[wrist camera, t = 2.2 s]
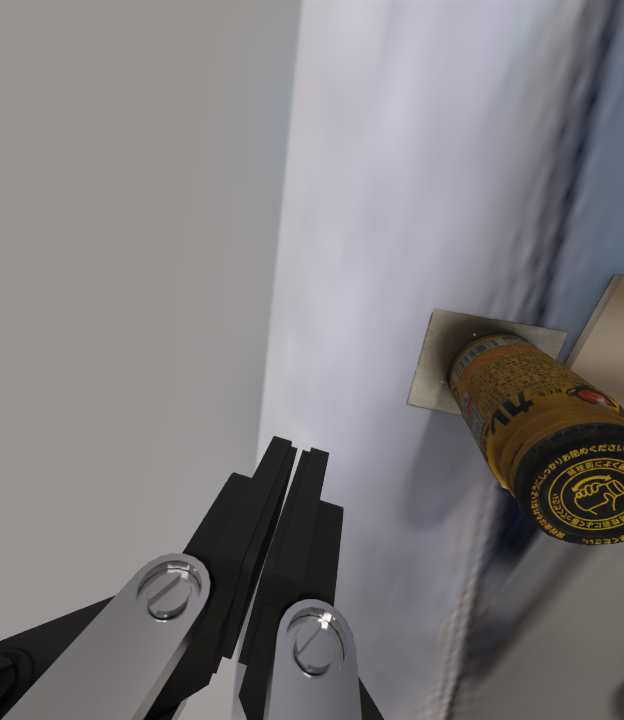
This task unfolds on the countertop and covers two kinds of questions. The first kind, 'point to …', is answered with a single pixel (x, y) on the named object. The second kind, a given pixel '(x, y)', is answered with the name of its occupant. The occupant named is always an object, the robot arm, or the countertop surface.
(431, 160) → the countertop surface
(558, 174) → the countertop surface
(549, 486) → the condiment
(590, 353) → the cutting board
